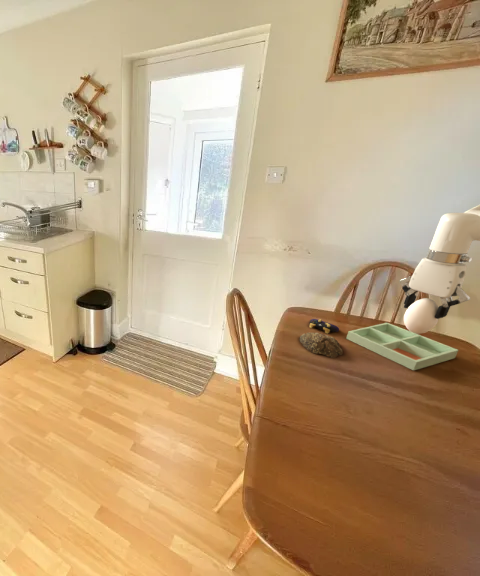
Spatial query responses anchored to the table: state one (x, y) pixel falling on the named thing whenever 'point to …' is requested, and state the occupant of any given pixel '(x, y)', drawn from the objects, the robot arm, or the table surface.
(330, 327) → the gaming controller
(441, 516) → the table surface
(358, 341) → the divided tray
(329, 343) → the brown rock
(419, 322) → the egg
